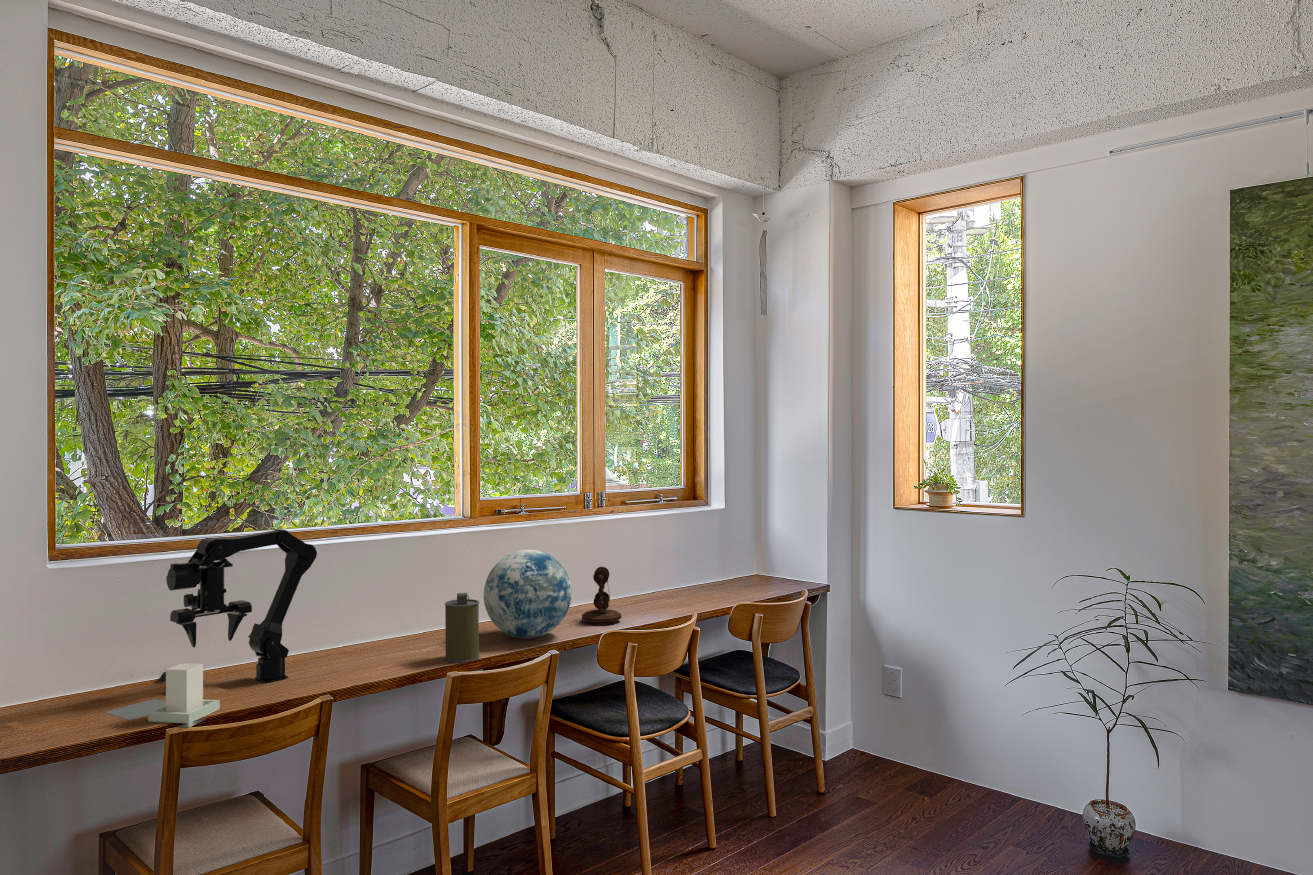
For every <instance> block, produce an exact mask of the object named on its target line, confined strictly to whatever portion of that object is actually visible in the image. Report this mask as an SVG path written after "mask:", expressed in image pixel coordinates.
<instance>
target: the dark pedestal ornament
mask: <svg viewBox="0 0 1313 875" xmlns="http://www.w3.org/2000/svg"><path fill="white" fill-rule="evenodd" d="M609 578H610V571H609V569H608V568H607V567H605V566H599V567H597V568H596V569H595V571H594V573H593V575H592V579H593V581H594V582H595V584H596V585H597V586H598V590H597V592H596V594H595V595H594V599H593V605H594V608H596V609H592V610H591V609H590V610H588V611H585V612H584V613H582V615H581V620H583V621H585V622H586V624H587V625H588V626H589V625H590V622H591V623H606V622H607V623H609V622H612V624H613V625H615V624H616V621H619V620H620V619H622V613H621V612H619V611H617V610H614V609H609V607H610V603H611V593H610V588H609V586H607V589H608V592H607V591H604V590H605V587H606V584H607V585H609Z"/></svg>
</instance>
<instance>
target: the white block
mask: <svg viewBox="0 0 1313 875" xmlns="http://www.w3.org/2000/svg"><path fill="white" fill-rule="evenodd" d="M165 672H166V681H165V682H166V683H165V686H166V687H165V691H166V696H165V702H166V712H178V713H189V712H192V711H194V710H196V709H198V708H200V707H203V699H204V664H203V663H188V662H187V663H186V662H183V663H180V664H177V665H176V666H172V667H171V666H170V667H168V668H165Z"/></svg>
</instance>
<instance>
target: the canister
mask: <svg viewBox="0 0 1313 875" xmlns="http://www.w3.org/2000/svg"><path fill="white" fill-rule="evenodd" d="M479 604H480V601H479V600H478V599H473V598H470V597H469V595H468V593H467V592H458V593H457V594H456V599H451V600H448V601H447V600H446V601H445V603H444V606H445V612H444V613H445V616H444V617H445V618H444V619H445V657H444V661H446V662H448V663H453V664H461V663H462V664H463V663H465V664H466V663H471V662H474V660H475V661H477V660H478V659H480V652H479V650H480V644H479V643H480V642H479V641H480V638H479V635H480V634H479V633H480V632H479V628H480V625H479V614H480V613H479V612H480V611H479Z"/></svg>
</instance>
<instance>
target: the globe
mask: <svg viewBox="0 0 1313 875" xmlns="http://www.w3.org/2000/svg"><path fill="white" fill-rule="evenodd" d="M572 594H573V593H572V584H571V579H570V577H569V575H568V573H567V570H566V568H565V567H564V566H563V565H562V563H560V561H559V560H557V559H556V558H555V557H554V556H552V555H551V554H549V553H546V552H544V551H541V550H537V549H519V550H517V551H513V552H511V553H509V554H507V555H505V556H504V557H502V558H501V559H500V560H499V561H497V562H496V563H495V565H494V566H493V567H492V568H491V570H490V571H489V572H488V576H487V577H486V580H485V583H484V588H483V604H484V608H485V611H486V613H487V616H488V617H489V619H490V620H491V622H492V623H493V625H495V627H496V628H498V629H499V630H500V631H501V632H503V633H505V634H506V635H508V636H511V637H513V638H517V639H535V638H539V637H543V636H545V635H547V634H549V633H550V632H552V631H553V630H555V629H556V628H557V627H558V626H559V625H560V623H562V621H563V620H564V618H566V615H567V613H568V611H569V609H570V606H571V603H572V601H571V600H572Z"/></svg>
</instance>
